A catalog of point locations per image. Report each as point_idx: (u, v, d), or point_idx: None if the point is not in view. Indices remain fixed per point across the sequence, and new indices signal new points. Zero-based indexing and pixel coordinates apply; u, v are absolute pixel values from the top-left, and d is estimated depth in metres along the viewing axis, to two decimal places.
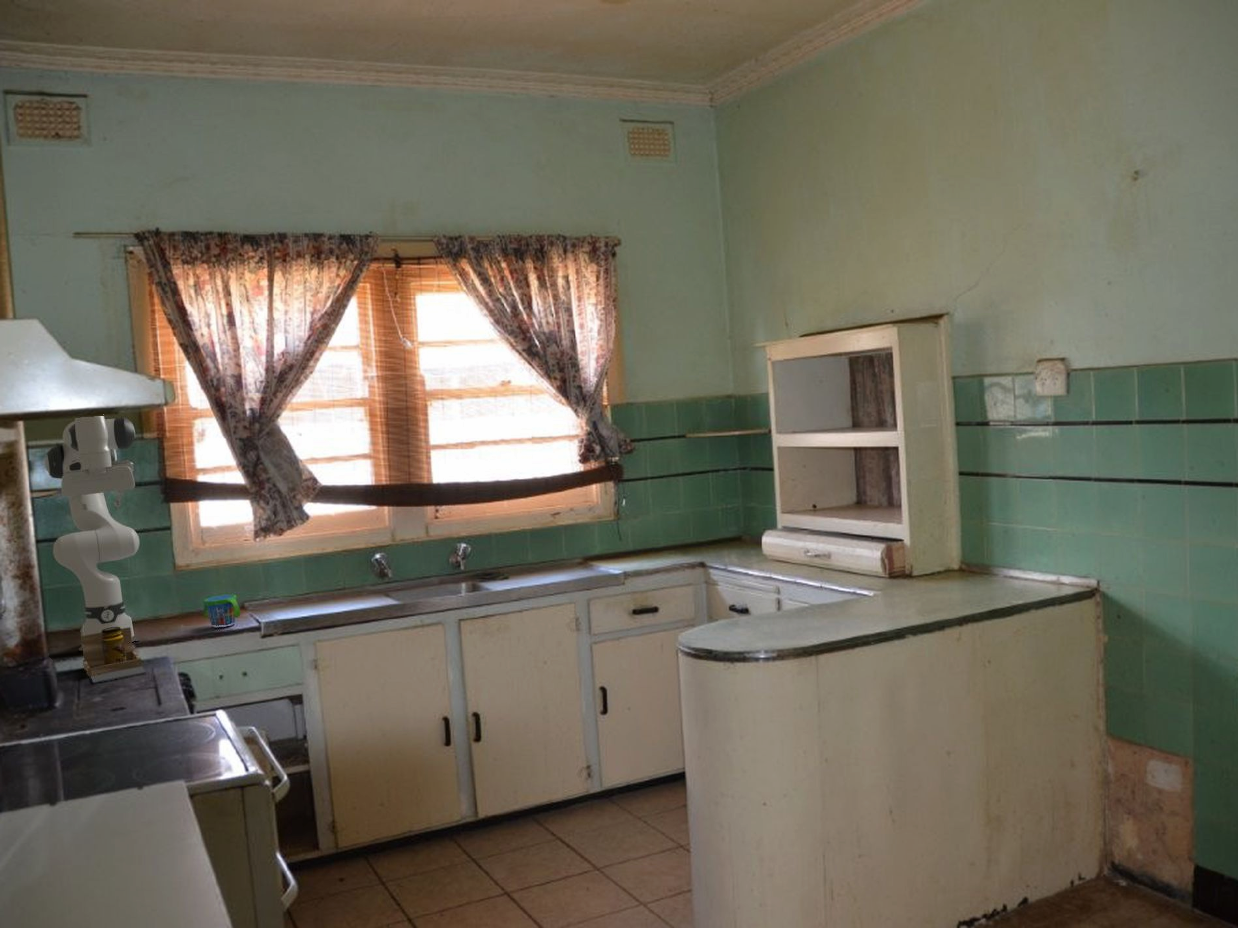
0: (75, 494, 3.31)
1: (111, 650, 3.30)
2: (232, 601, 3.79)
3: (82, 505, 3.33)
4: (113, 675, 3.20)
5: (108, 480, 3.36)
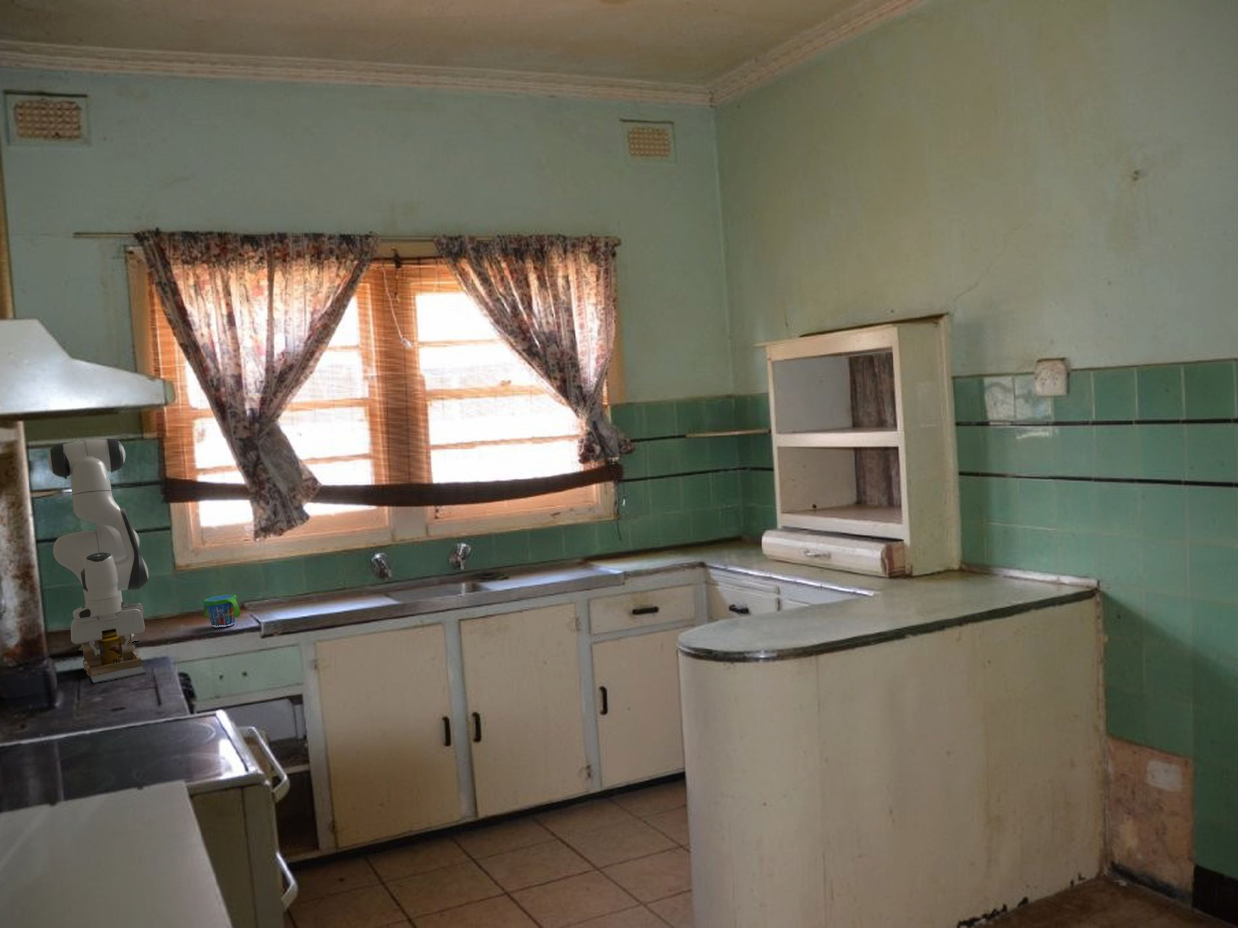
0: (85, 641, 3.27)
1: (108, 651, 3.30)
2: (232, 601, 3.79)
3: (95, 650, 3.30)
4: (113, 675, 3.20)
5: (118, 624, 3.32)
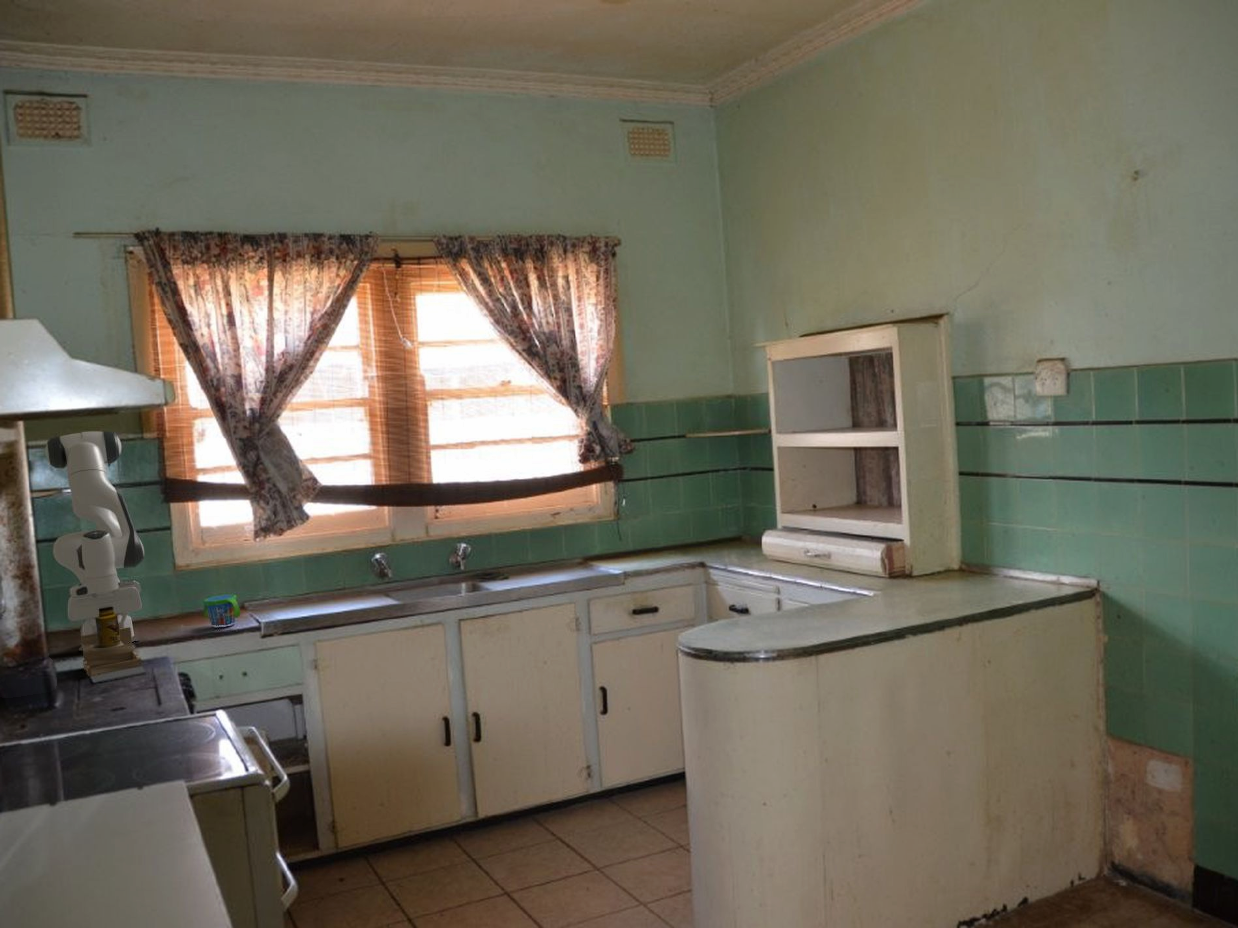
0: (82, 618, 3.27)
1: (105, 628, 3.29)
2: (232, 601, 3.79)
3: (92, 628, 3.30)
4: (113, 675, 3.20)
5: (115, 602, 3.32)
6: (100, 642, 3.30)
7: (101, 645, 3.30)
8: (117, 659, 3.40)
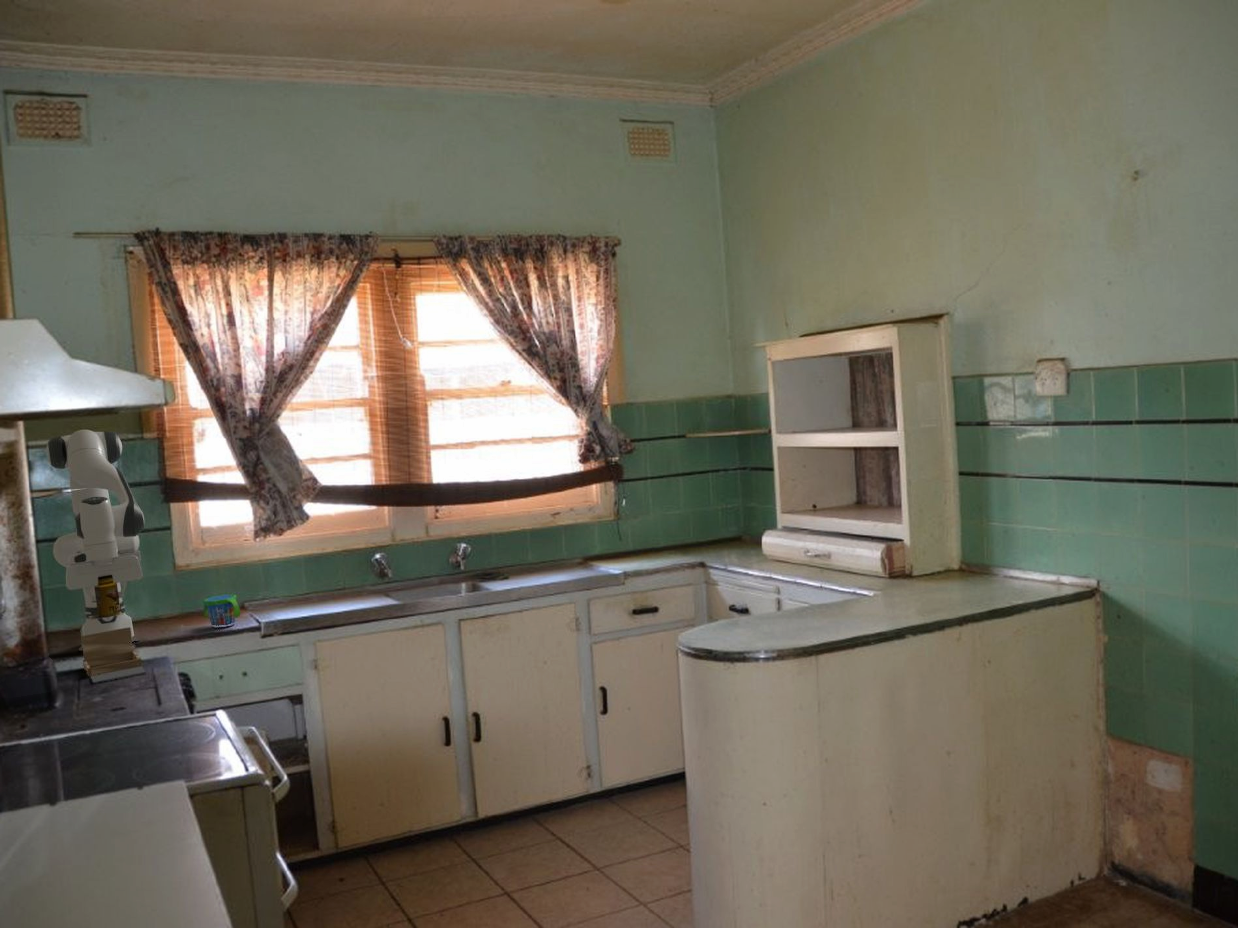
0: (80, 587, 3.16)
1: (104, 597, 3.19)
2: (232, 601, 3.79)
3: (91, 597, 3.19)
4: (113, 675, 3.20)
5: (114, 570, 3.21)
6: (99, 612, 3.19)
7: (100, 615, 3.19)
8: (117, 659, 3.40)
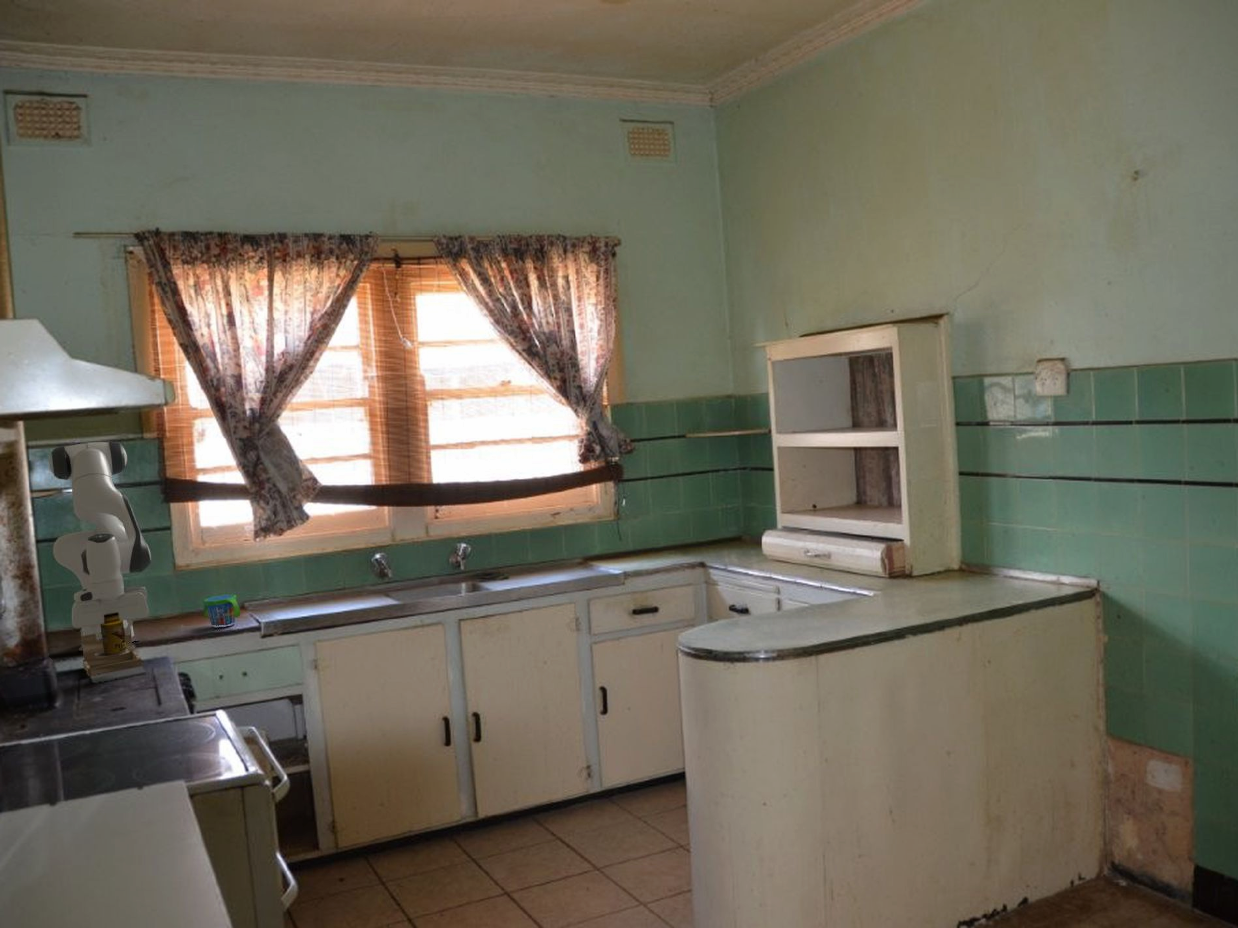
0: (86, 625, 3.15)
1: (110, 635, 3.17)
2: (232, 601, 3.79)
3: (97, 635, 3.17)
4: (113, 675, 3.20)
5: (120, 608, 3.19)
6: (105, 650, 3.18)
7: (106, 653, 3.18)
8: (117, 659, 3.40)
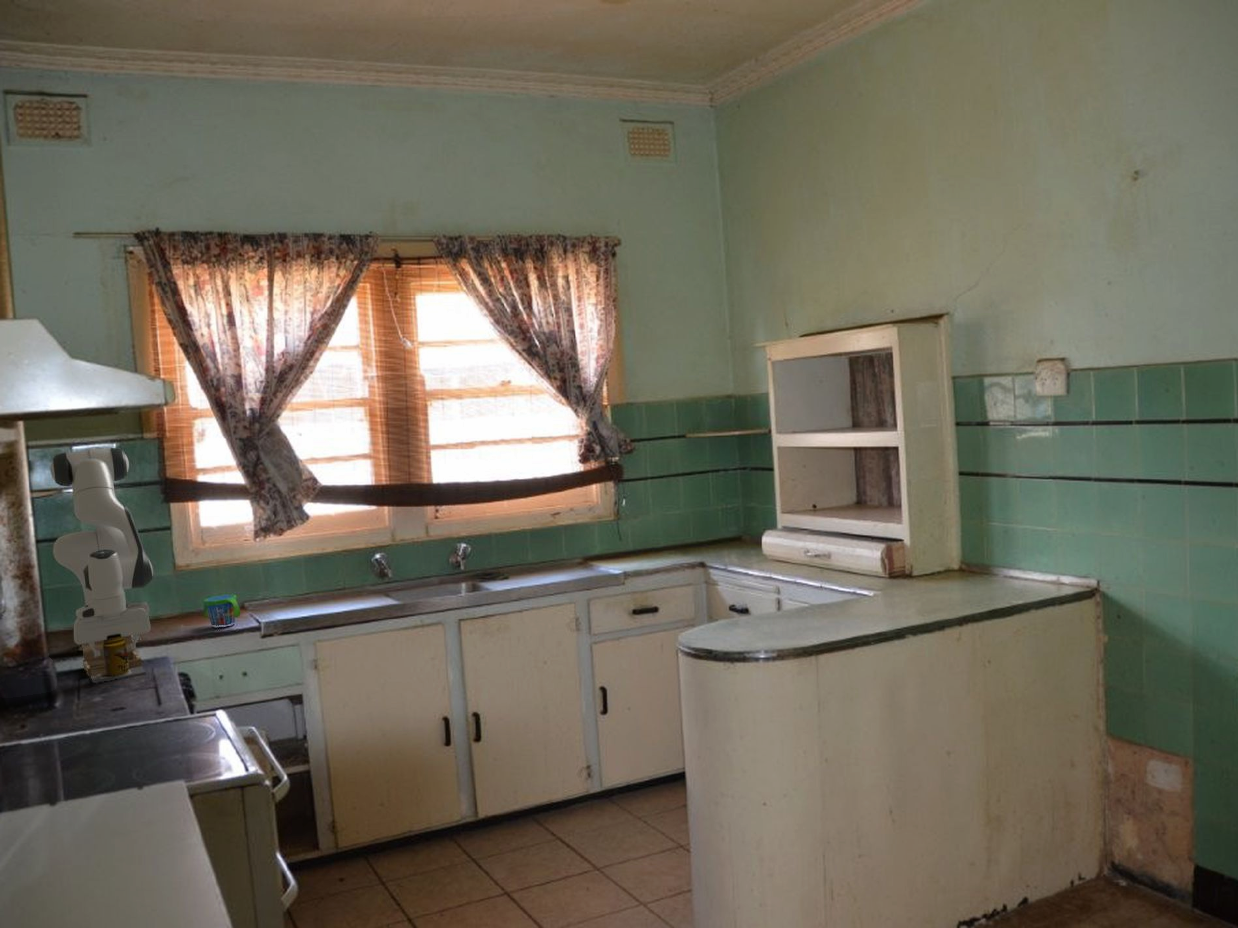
0: (88, 641, 3.15)
1: (113, 656, 3.18)
2: (232, 601, 3.79)
3: (95, 652, 3.17)
4: None
5: (122, 624, 3.20)
6: (108, 671, 3.18)
7: (109, 674, 3.18)
8: None
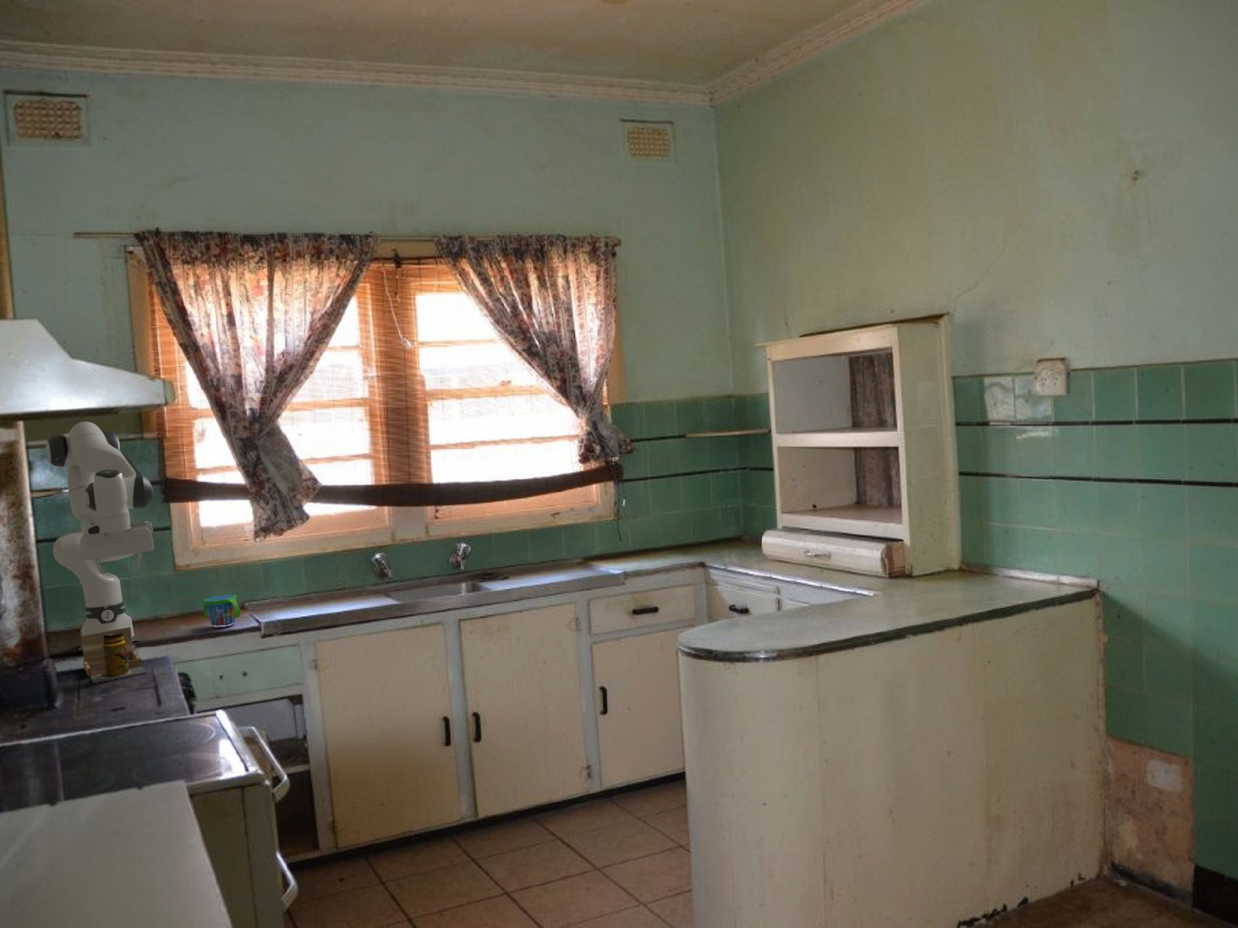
0: (93, 557, 3.25)
1: (113, 656, 3.18)
2: (232, 601, 3.79)
3: (100, 568, 3.27)
4: None
5: (127, 542, 3.29)
6: (108, 671, 3.18)
7: (109, 674, 3.18)
8: None
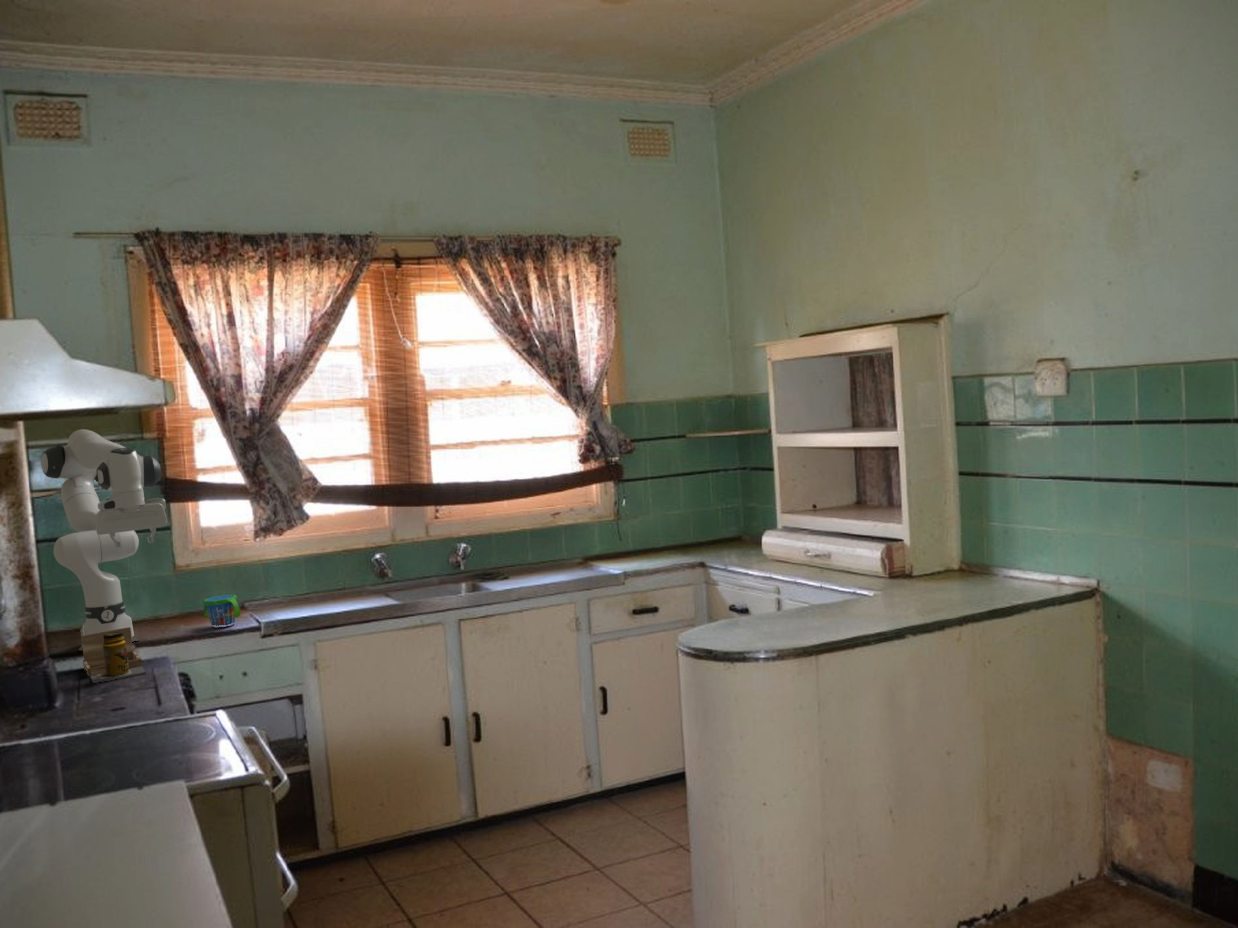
0: (109, 532, 3.37)
1: (113, 656, 3.18)
2: (232, 601, 3.79)
3: (116, 542, 3.39)
4: None
5: (141, 517, 3.41)
6: (108, 671, 3.18)
7: (109, 674, 3.18)
8: None
